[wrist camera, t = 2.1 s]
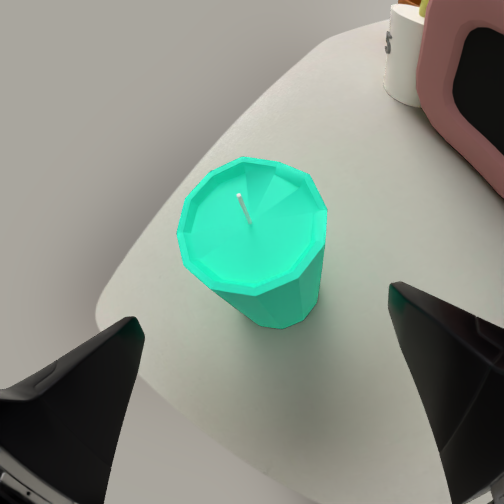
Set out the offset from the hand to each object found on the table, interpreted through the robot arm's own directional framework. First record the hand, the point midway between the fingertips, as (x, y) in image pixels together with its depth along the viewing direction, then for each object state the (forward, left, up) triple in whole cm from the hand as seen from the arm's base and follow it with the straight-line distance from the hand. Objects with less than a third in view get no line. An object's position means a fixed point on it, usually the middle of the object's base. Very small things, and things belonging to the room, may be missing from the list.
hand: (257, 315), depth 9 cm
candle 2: (+25, -17, -11) cm, 32 cm away
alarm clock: (+16, -24, -11) cm, 30 cm away
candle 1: (+4, 0, -11) cm, 11 cm away
